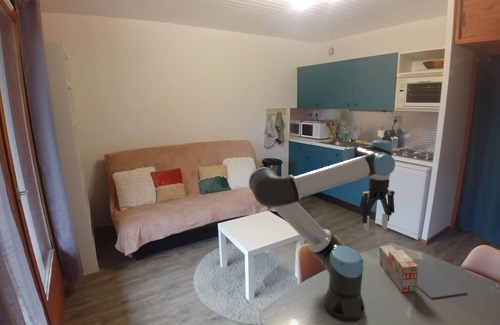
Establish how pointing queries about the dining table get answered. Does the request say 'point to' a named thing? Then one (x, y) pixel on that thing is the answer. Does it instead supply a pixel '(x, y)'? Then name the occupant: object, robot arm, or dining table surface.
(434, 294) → the mat
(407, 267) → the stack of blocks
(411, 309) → the dining table surface
